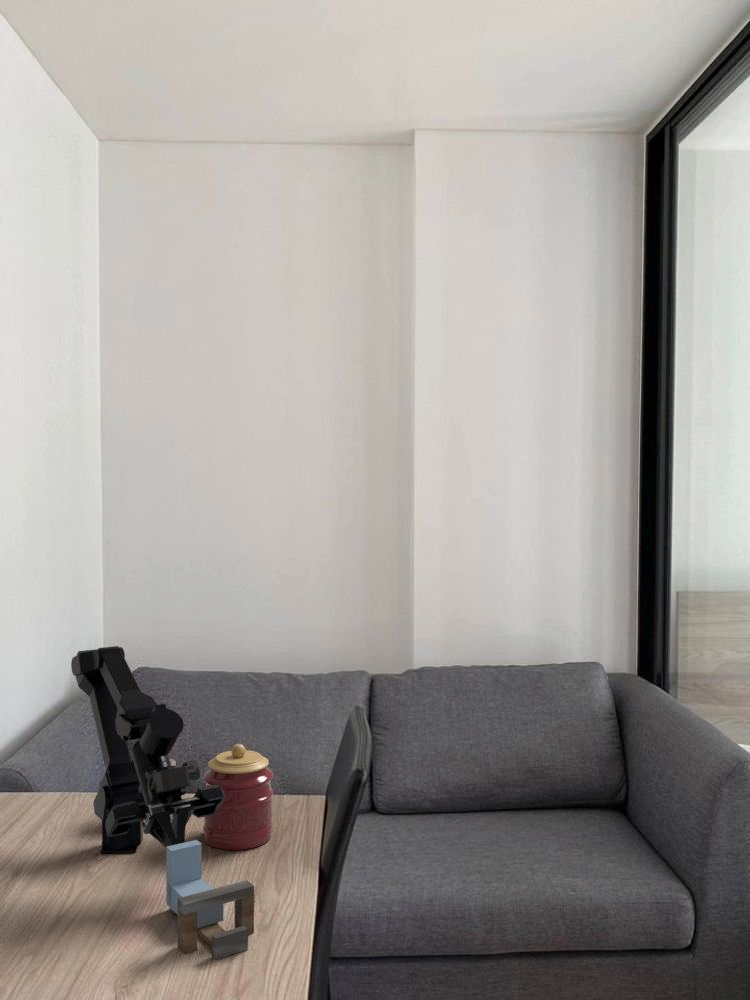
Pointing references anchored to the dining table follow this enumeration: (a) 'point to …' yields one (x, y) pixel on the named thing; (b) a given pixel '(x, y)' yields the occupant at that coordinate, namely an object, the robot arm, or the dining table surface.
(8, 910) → the dining table surface
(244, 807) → the canister
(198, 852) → the light blue l-shaped block
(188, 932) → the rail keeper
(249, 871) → the dining table surface
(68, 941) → the dining table surface
